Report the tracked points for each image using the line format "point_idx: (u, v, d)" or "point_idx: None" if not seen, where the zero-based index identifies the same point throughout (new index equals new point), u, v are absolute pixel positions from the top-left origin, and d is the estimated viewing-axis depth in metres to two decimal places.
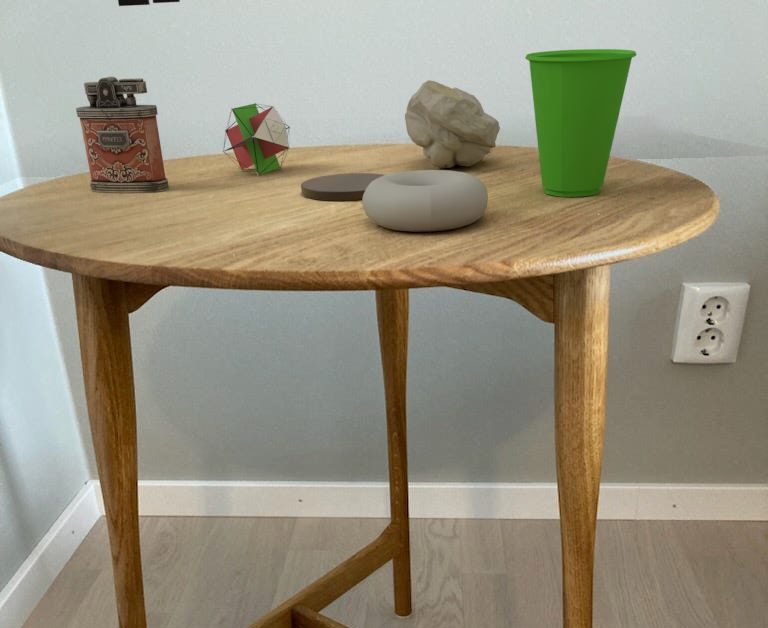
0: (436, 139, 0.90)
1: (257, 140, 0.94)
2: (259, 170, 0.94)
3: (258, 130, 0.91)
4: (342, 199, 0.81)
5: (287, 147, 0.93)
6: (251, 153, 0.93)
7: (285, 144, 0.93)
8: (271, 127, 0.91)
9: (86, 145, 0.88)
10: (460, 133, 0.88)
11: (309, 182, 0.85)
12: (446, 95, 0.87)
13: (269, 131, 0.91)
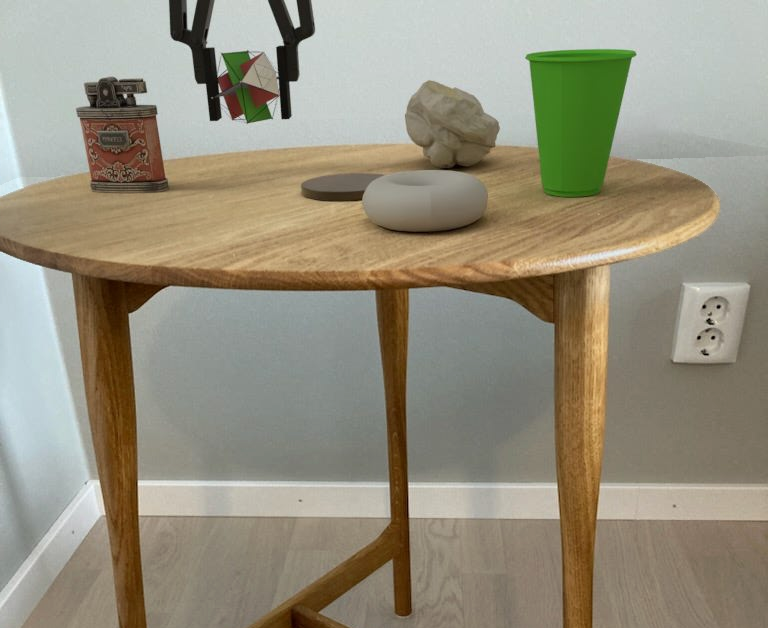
0: (436, 139, 0.90)
1: (248, 88, 0.92)
2: (248, 118, 0.91)
3: (246, 75, 0.88)
4: (342, 199, 0.81)
5: (277, 95, 0.90)
6: (241, 100, 0.91)
7: (275, 91, 0.90)
8: (260, 72, 0.88)
9: (86, 145, 0.88)
10: (460, 133, 0.88)
11: (309, 182, 0.85)
12: (446, 95, 0.87)
13: (258, 76, 0.88)
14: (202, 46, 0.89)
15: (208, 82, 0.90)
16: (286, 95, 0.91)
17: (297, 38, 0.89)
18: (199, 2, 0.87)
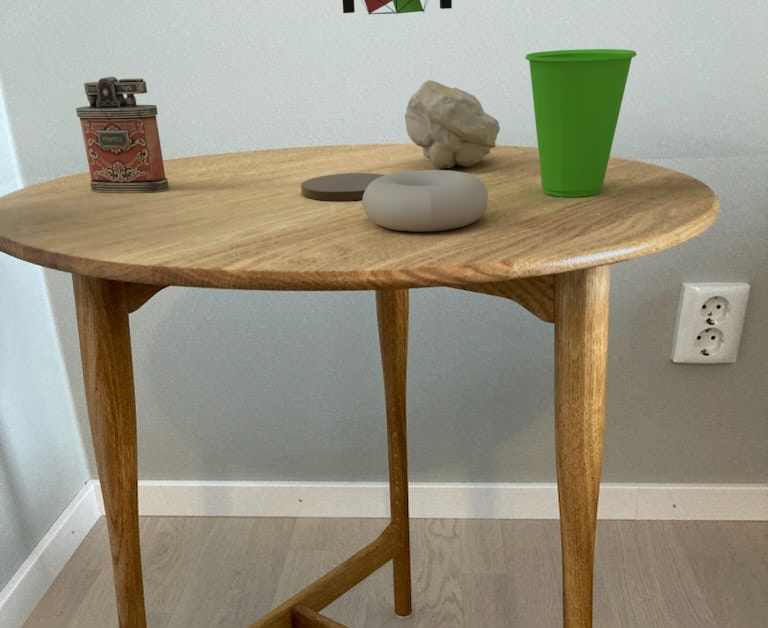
0: (436, 139, 0.90)
1: None
2: (397, 7, 0.67)
3: None
4: (342, 199, 0.81)
5: None
6: None
7: None
8: None
9: (86, 145, 0.88)
10: (460, 133, 0.88)
11: (309, 182, 0.85)
12: (446, 95, 0.87)
13: None
14: None
15: None
16: None
17: None
18: None
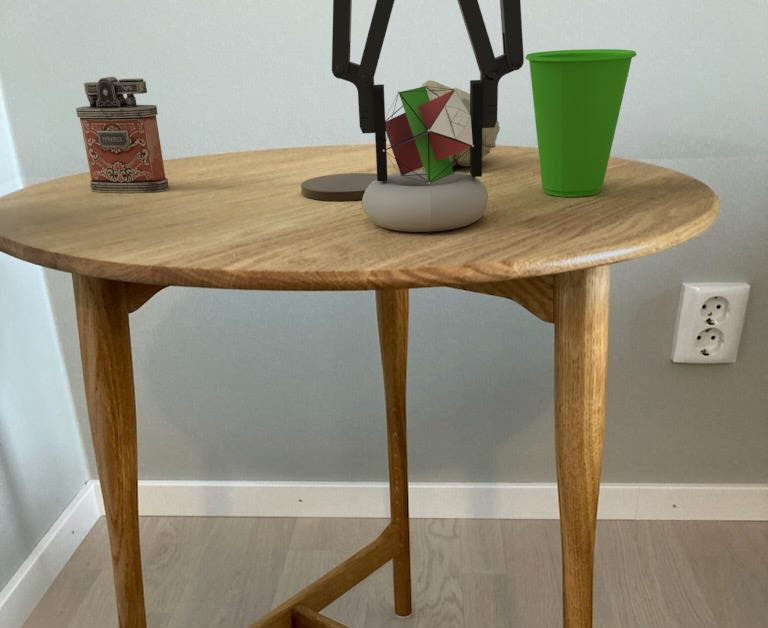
0: None
1: (428, 136, 0.70)
2: (430, 176, 0.69)
3: (436, 121, 0.66)
4: (342, 199, 0.81)
5: (471, 145, 0.68)
6: (421, 153, 0.69)
7: (469, 141, 0.68)
8: (453, 117, 0.66)
9: (86, 145, 0.88)
10: None
11: (309, 182, 0.85)
12: None
13: (451, 122, 0.66)
14: (372, 84, 0.67)
15: (378, 131, 0.68)
16: (481, 146, 0.69)
17: (500, 71, 0.67)
18: (373, 27, 0.65)
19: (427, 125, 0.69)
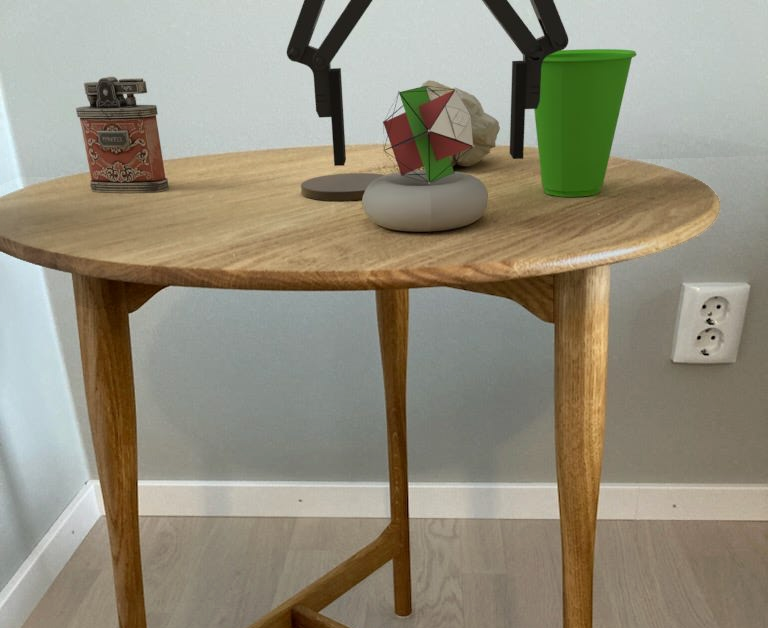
0: None
1: (428, 135, 0.70)
2: (430, 176, 0.69)
3: (436, 122, 0.66)
4: (342, 199, 0.81)
5: (471, 145, 0.68)
6: (421, 153, 0.69)
7: (469, 141, 0.68)
8: (453, 117, 0.66)
9: (86, 145, 0.88)
10: None
11: (309, 182, 0.85)
12: None
13: (452, 123, 0.66)
14: (325, 70, 0.67)
15: (334, 115, 0.68)
16: (523, 127, 0.68)
17: (543, 47, 0.66)
18: (344, 16, 0.65)
19: (427, 125, 0.69)
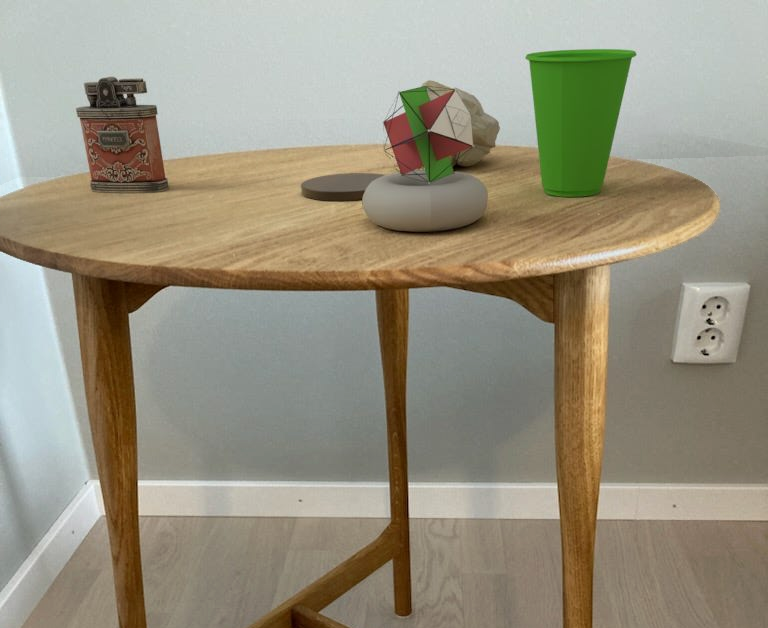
0: None
1: (428, 135, 0.70)
2: (430, 176, 0.69)
3: (436, 122, 0.66)
4: (342, 199, 0.81)
5: (471, 145, 0.68)
6: (421, 153, 0.69)
7: (470, 141, 0.68)
8: (453, 117, 0.66)
9: (86, 145, 0.88)
10: None
11: (309, 182, 0.85)
12: None
13: (452, 122, 0.66)
14: None
15: None
16: None
17: None
18: None
19: (427, 125, 0.69)
